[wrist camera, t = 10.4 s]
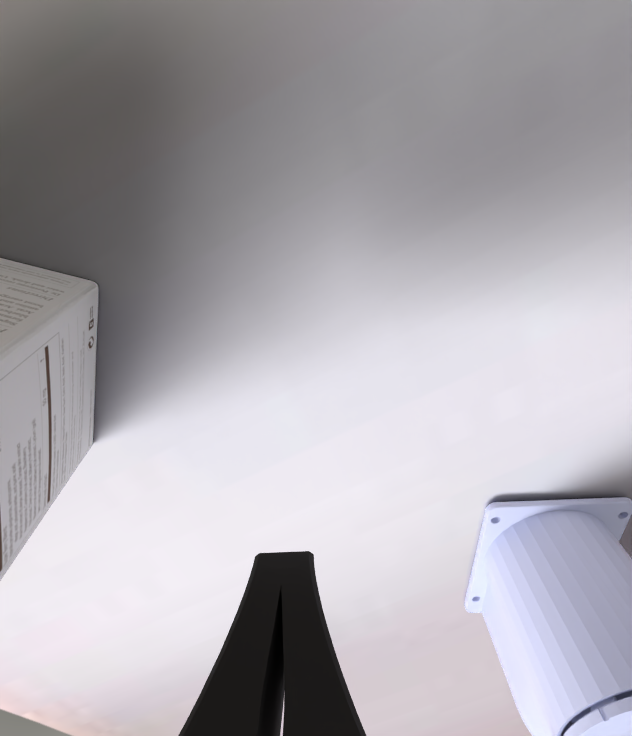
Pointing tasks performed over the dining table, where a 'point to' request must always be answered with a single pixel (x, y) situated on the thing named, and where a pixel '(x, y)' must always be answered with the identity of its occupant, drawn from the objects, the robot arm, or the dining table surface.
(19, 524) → the supplement box
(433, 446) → the dining table surface
